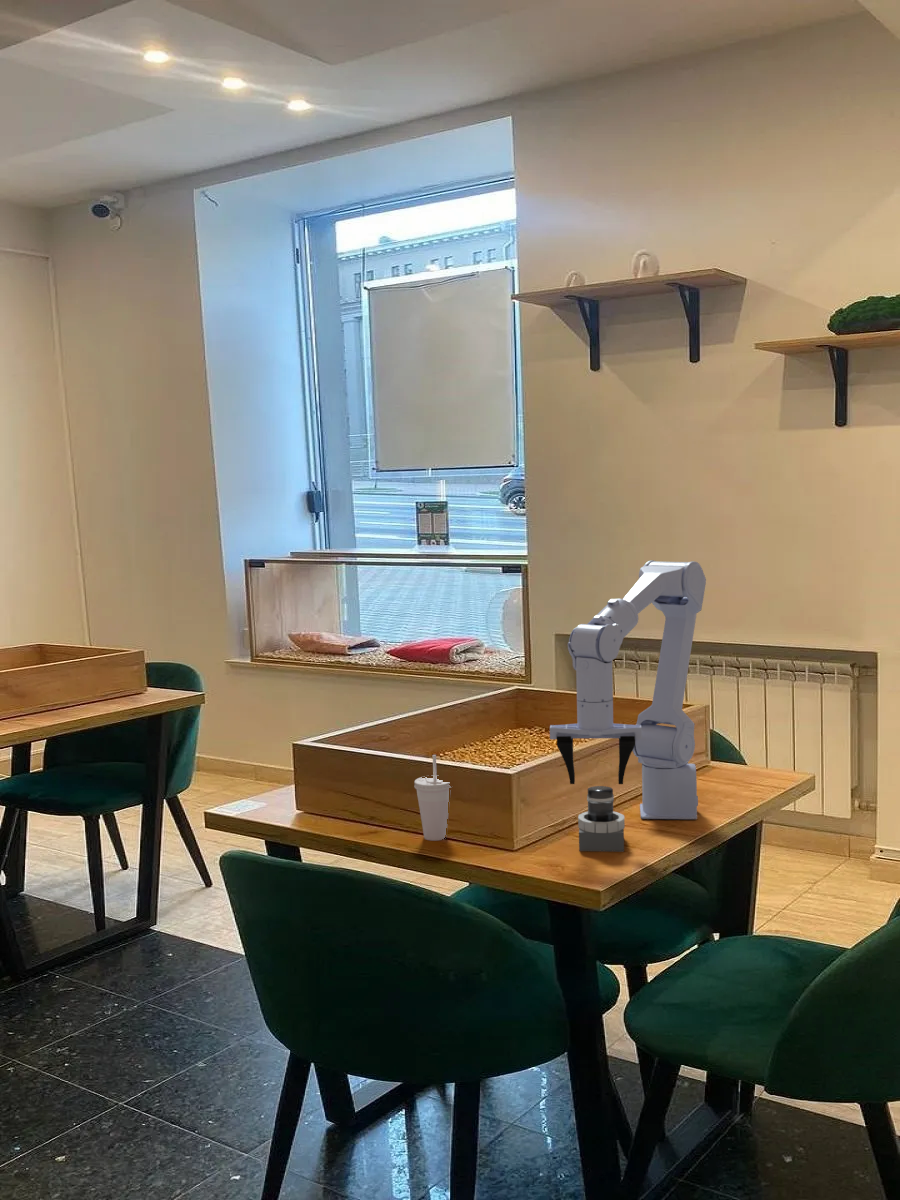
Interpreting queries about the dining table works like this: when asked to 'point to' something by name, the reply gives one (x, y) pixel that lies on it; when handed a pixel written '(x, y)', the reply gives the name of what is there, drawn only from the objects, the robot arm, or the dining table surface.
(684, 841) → the dining table surface
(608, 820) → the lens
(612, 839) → the block with notched collar
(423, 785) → the smoothie
